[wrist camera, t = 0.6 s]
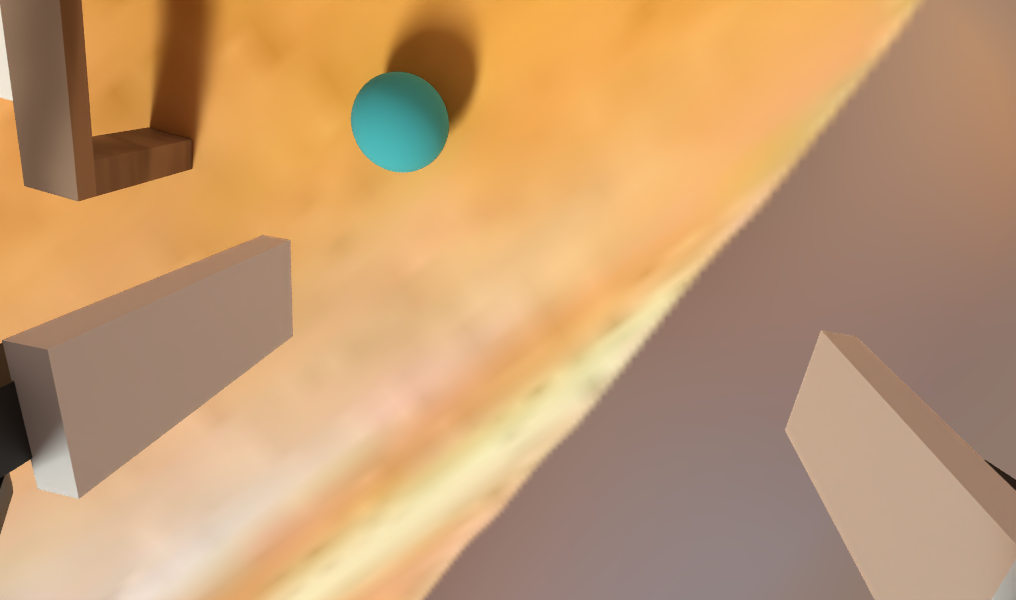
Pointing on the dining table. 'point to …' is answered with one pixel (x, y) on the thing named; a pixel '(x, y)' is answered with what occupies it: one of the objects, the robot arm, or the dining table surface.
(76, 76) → the bridge
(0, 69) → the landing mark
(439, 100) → the ball
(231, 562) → the dining table surface
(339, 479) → the dining table surface
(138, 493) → the dining table surface
